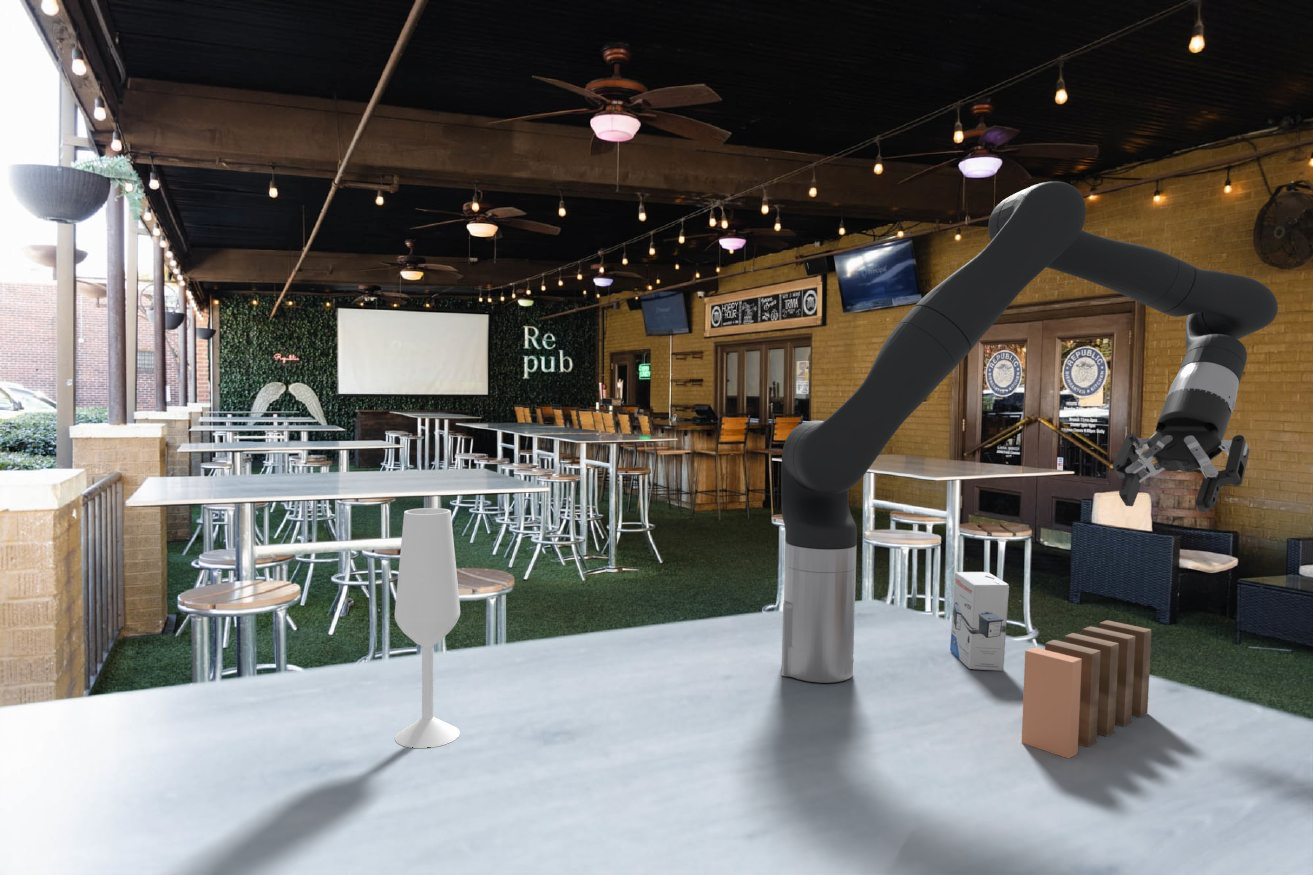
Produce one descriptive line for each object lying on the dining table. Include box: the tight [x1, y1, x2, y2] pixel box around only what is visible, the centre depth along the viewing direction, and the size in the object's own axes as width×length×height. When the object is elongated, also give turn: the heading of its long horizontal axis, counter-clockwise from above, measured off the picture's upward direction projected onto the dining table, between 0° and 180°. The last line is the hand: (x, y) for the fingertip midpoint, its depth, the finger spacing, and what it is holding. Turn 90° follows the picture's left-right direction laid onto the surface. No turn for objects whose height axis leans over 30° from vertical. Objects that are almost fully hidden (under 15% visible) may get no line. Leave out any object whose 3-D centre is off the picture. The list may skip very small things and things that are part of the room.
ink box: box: [950, 571, 1010, 672], centre depth 119 cm, size 9×5×12 cm, turn 179°
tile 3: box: [1063, 632, 1119, 738], centre depth 96 cm, size 2×5×10 cm, turn 40°
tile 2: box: [1081, 625, 1135, 727], centre depth 99 cm, size 2×5×10 cm, turn 40°
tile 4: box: [1044, 639, 1100, 748], centre depth 93 cm, size 2×5×10 cm, turn 40°
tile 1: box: [1098, 619, 1152, 718], centre depth 102 cm, size 2×5×10 cm, turn 40°
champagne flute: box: [394, 507, 461, 749], centre depth 91 cm, size 7×7×24 cm
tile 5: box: [1021, 646, 1082, 759], centre depth 90 cm, size 2×5×10 cm, turn 40°
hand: (1162, 505), depth 106 cm, fingers open, 8 cm apart
